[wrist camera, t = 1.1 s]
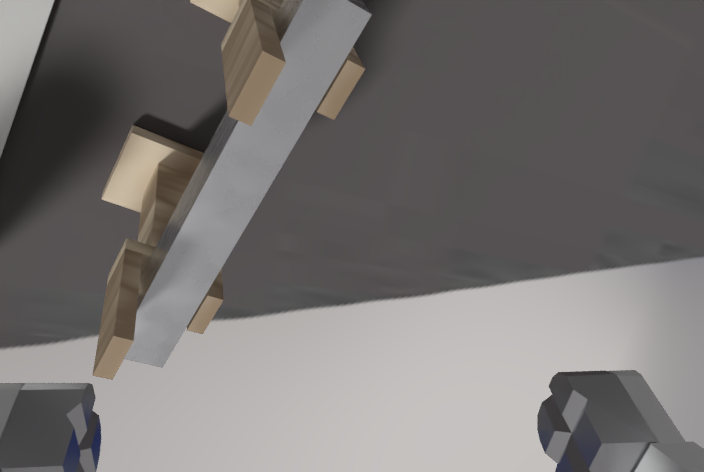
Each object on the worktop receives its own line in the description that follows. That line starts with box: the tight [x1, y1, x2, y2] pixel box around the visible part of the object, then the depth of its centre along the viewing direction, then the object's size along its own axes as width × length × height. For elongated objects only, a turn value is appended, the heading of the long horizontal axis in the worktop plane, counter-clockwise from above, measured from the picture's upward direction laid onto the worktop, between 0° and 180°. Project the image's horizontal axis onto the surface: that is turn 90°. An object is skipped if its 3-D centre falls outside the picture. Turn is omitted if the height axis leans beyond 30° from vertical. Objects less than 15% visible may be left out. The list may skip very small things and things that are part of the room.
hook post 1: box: [93, 125, 223, 380], centre depth 40 cm, size 8×6×19 cm
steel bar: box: [124, 0, 372, 367], centre depth 34 cm, size 3×24×3 cm, turn 148°
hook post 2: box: [190, 0, 365, 126], centre depth 33 cm, size 8×6×19 cm
